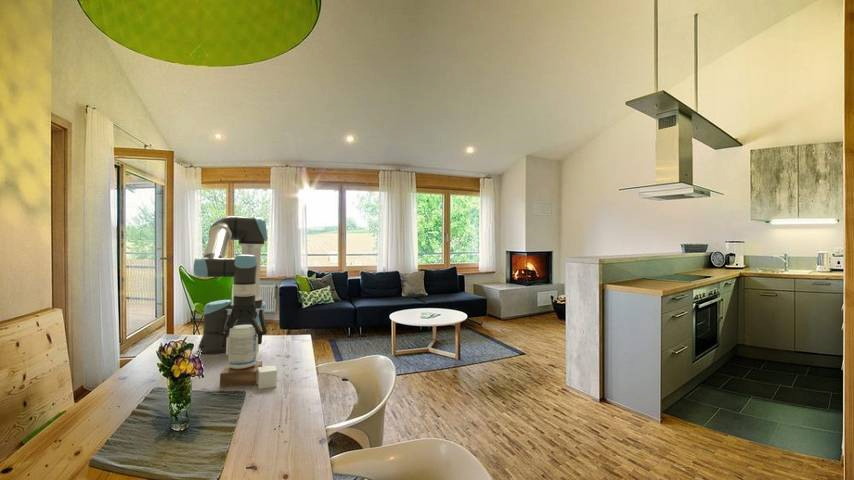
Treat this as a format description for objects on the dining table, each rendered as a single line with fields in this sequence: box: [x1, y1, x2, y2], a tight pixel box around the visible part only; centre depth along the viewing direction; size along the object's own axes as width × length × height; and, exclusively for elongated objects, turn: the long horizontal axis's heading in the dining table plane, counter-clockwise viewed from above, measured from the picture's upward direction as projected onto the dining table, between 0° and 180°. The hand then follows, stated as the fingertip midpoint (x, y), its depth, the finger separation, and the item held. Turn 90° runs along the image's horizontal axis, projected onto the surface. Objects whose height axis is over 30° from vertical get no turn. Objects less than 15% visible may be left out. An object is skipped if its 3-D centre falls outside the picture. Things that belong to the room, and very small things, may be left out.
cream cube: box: [256, 365, 278, 390], centre depth 139 cm, size 6×6×6 cm
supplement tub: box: [227, 325, 257, 369], centre depth 142 cm, size 10×10×15 cm
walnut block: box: [219, 360, 263, 388], centre depth 142 cm, size 12×12×5 cm
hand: (242, 353), depth 142 cm, fingers closed on supplement tub, 9 cm apart
